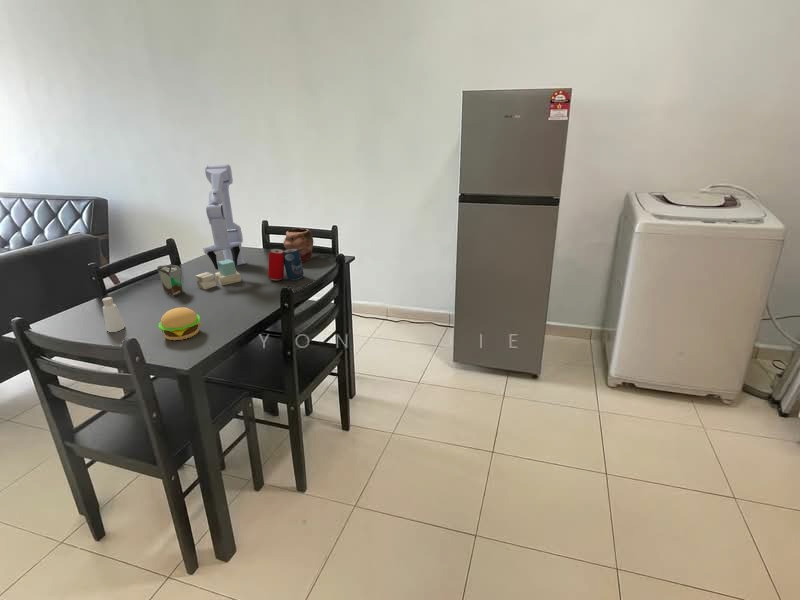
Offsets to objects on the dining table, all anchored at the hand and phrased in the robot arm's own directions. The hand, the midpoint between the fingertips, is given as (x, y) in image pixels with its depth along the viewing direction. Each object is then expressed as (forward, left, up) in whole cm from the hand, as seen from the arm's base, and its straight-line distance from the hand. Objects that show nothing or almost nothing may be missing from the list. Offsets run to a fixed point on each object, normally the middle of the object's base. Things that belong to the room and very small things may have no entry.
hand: (226, 266), depth 186 cm
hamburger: (+40, -28, -6) cm, 49 cm away
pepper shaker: (+22, -44, -6) cm, 50 cm away
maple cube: (+1, -9, -6) cm, 11 cm away
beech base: (0, 0, -6) cm, 6 cm away
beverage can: (+12, +15, -6) cm, 20 cm away
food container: (-1, -20, -6) cm, 21 cm away
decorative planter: (-7, +37, -6) cm, 38 cm away
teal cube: (0, 0, -3) cm, 3 cm away
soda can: (+16, +23, -6) cm, 28 cm away
